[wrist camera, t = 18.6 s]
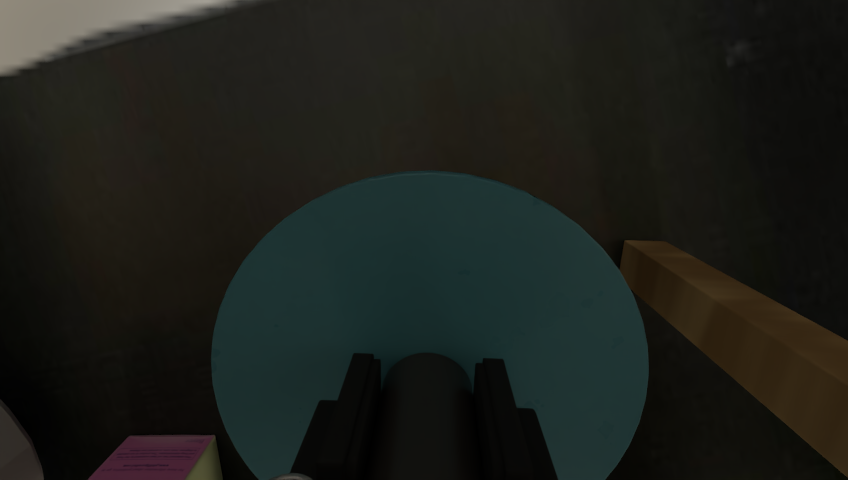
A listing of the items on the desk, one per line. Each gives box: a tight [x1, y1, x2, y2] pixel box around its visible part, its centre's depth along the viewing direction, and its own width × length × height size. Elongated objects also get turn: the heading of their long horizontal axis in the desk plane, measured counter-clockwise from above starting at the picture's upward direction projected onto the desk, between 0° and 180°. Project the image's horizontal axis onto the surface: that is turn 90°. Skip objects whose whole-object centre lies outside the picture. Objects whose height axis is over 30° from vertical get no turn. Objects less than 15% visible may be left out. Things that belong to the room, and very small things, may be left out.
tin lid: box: [211, 170, 649, 480], centre depth 10 cm, size 13×13×7 cm
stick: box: [620, 240, 848, 477], centre depth 16 cm, size 2×2×15 cm
